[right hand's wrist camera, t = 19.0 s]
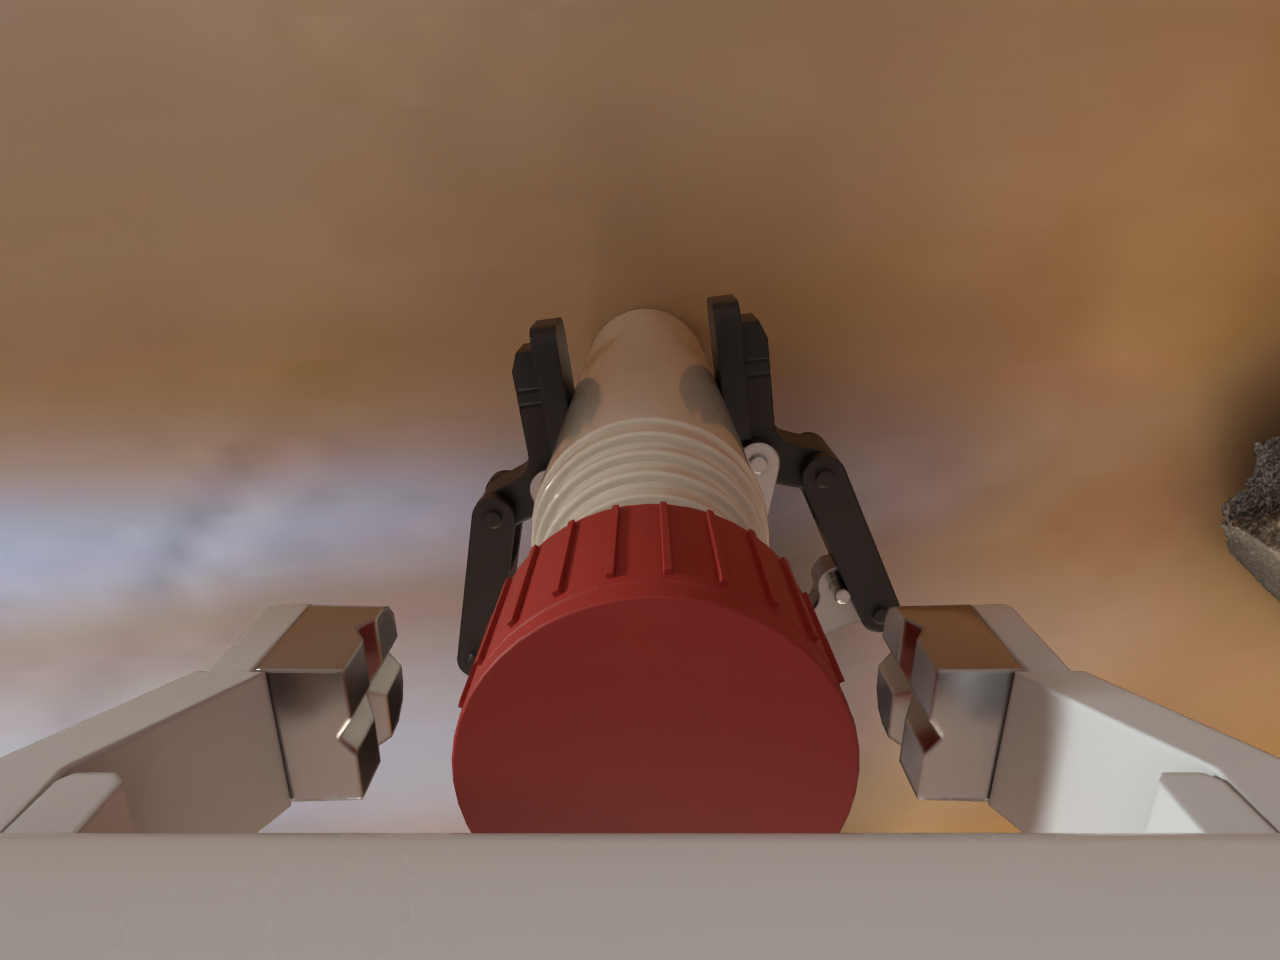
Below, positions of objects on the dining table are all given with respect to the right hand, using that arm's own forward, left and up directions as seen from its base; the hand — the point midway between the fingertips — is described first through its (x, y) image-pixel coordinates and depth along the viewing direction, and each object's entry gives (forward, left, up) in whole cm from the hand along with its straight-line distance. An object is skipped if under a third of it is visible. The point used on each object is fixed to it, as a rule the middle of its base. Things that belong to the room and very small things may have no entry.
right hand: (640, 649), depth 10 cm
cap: (0, 0, +2) cm, 2 cm away
